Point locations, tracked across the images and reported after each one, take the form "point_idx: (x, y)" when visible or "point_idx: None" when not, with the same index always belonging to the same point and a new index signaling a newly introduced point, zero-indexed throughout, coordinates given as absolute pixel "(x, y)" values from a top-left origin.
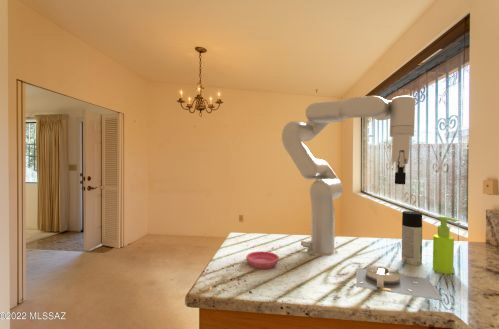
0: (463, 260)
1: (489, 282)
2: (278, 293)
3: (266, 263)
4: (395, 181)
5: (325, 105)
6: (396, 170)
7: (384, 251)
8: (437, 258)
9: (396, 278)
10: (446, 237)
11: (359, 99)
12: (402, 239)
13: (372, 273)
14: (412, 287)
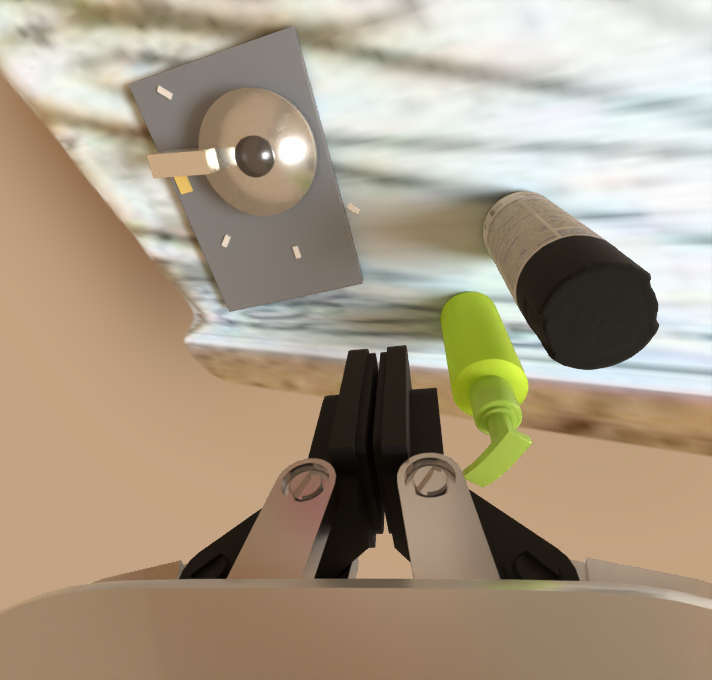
0: (656, 380)
1: (461, 410)
2: None
3: None
4: (349, 367)
5: None
6: (272, 494)
7: (678, 90)
8: (451, 328)
9: (235, 206)
10: (466, 399)
11: None
12: (533, 218)
13: (208, 124)
14: (256, 245)
